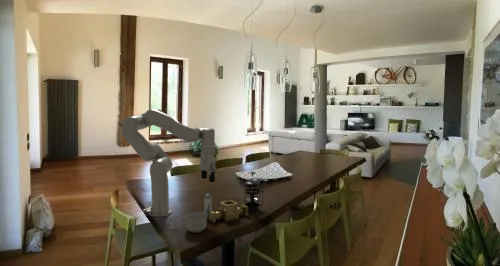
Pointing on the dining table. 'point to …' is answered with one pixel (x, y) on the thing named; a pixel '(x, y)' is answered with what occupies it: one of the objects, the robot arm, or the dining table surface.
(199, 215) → the teacup
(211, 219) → the valve body
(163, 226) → the dining table surface
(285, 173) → the dining table surface
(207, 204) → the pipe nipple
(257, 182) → the french press
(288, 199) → the dining table surface
